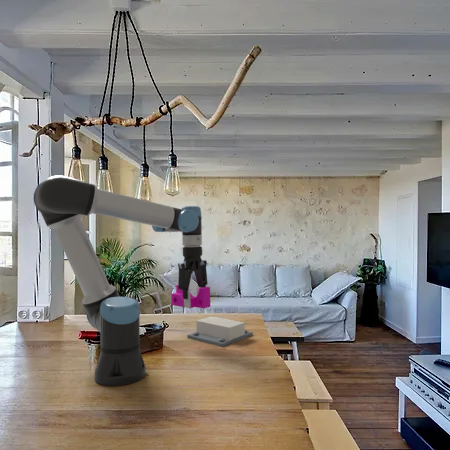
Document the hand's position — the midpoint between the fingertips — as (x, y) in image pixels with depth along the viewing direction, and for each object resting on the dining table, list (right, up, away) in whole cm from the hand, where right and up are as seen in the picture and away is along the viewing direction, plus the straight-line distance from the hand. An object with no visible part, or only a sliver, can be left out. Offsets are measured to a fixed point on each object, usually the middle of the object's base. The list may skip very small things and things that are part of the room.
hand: (193, 305), depth 144 cm
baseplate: (+10, -16, +12) cm, 22 cm away
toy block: (-1, -1, +1) cm, 2 cm away
